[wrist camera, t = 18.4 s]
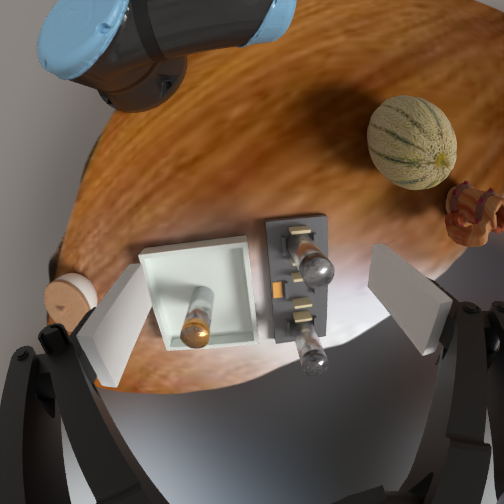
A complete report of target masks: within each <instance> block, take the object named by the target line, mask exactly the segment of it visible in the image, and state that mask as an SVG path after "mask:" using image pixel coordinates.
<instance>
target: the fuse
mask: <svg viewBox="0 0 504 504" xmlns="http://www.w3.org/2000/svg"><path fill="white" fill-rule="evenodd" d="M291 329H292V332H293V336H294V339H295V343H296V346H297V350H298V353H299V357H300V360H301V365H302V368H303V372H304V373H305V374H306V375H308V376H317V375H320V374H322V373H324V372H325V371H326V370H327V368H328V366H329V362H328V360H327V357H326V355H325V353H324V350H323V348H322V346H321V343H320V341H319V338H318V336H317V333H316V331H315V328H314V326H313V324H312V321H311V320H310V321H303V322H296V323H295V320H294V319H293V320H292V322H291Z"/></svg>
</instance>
